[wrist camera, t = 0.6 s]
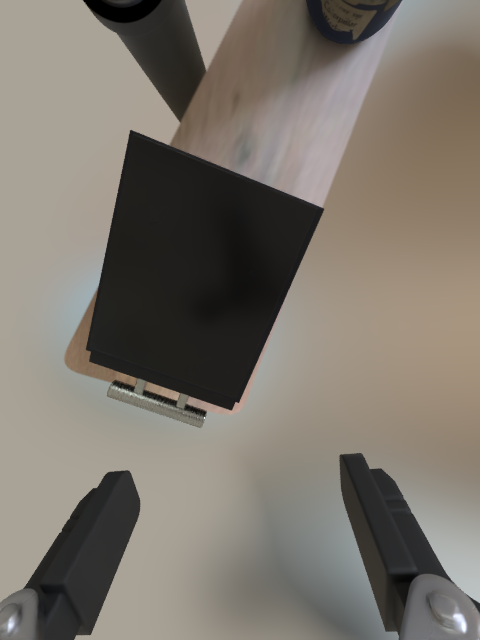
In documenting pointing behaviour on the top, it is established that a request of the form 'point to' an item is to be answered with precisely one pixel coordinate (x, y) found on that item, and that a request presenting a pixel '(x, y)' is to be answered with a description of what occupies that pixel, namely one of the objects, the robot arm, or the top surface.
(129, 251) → the oven
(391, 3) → the canister
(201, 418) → the oven door
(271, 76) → the top surface
